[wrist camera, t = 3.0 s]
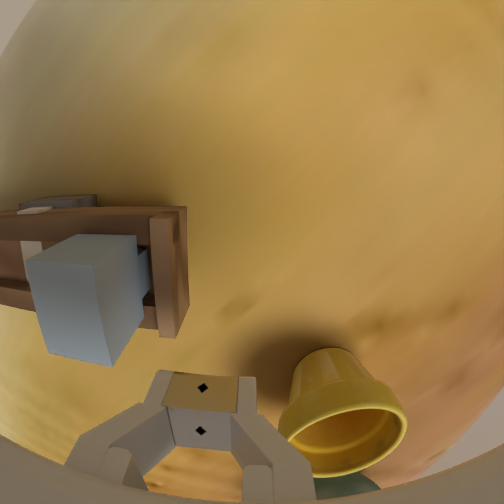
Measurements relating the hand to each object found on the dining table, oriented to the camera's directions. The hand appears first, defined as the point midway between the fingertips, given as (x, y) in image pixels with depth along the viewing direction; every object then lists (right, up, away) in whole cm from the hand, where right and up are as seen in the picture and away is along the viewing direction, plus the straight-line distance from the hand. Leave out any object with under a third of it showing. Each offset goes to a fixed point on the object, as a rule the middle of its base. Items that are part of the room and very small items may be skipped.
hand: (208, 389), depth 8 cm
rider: (-7, +3, +9) cm, 12 cm away
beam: (-15, +5, +15) cm, 22 cm away
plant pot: (+9, -8, +19) cm, 22 cm away
